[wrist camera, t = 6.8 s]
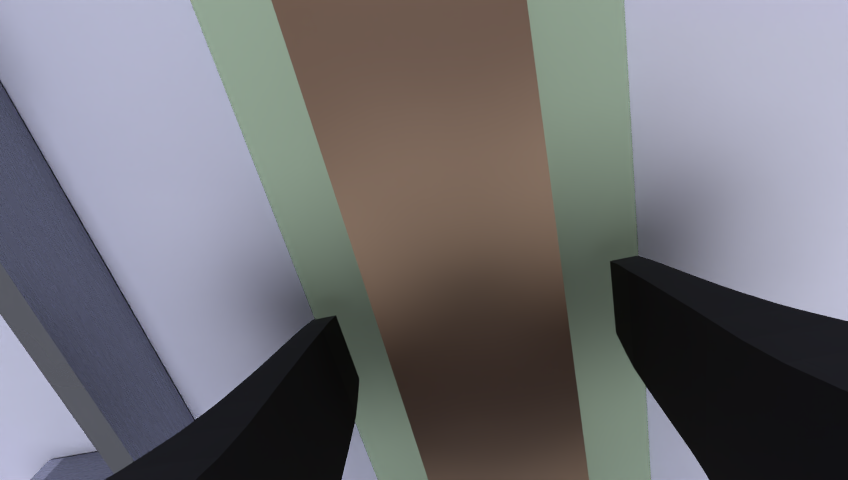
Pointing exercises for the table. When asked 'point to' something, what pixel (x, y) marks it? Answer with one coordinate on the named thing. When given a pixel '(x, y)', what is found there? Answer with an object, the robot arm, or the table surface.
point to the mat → (572, 198)
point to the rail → (449, 221)
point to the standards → (76, 318)
